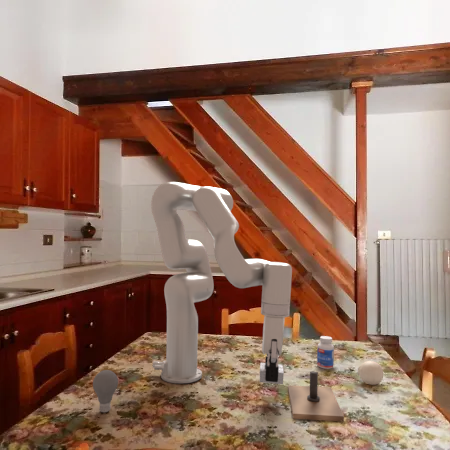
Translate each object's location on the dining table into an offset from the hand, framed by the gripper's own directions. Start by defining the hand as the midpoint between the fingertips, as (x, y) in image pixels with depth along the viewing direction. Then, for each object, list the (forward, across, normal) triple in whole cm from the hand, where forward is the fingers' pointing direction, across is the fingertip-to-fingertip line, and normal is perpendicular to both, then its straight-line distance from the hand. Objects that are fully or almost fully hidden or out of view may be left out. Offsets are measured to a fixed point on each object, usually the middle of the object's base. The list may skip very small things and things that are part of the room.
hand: (271, 375), depth 107 cm
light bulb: (+8, +12, -41) cm, 43 cm away
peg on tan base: (+6, +1, +11) cm, 13 cm away
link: (+1, 0, 0) cm, 1 cm away
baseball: (+6, -16, +30) cm, 35 cm away
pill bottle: (+7, -30, +19) cm, 37 cm away
